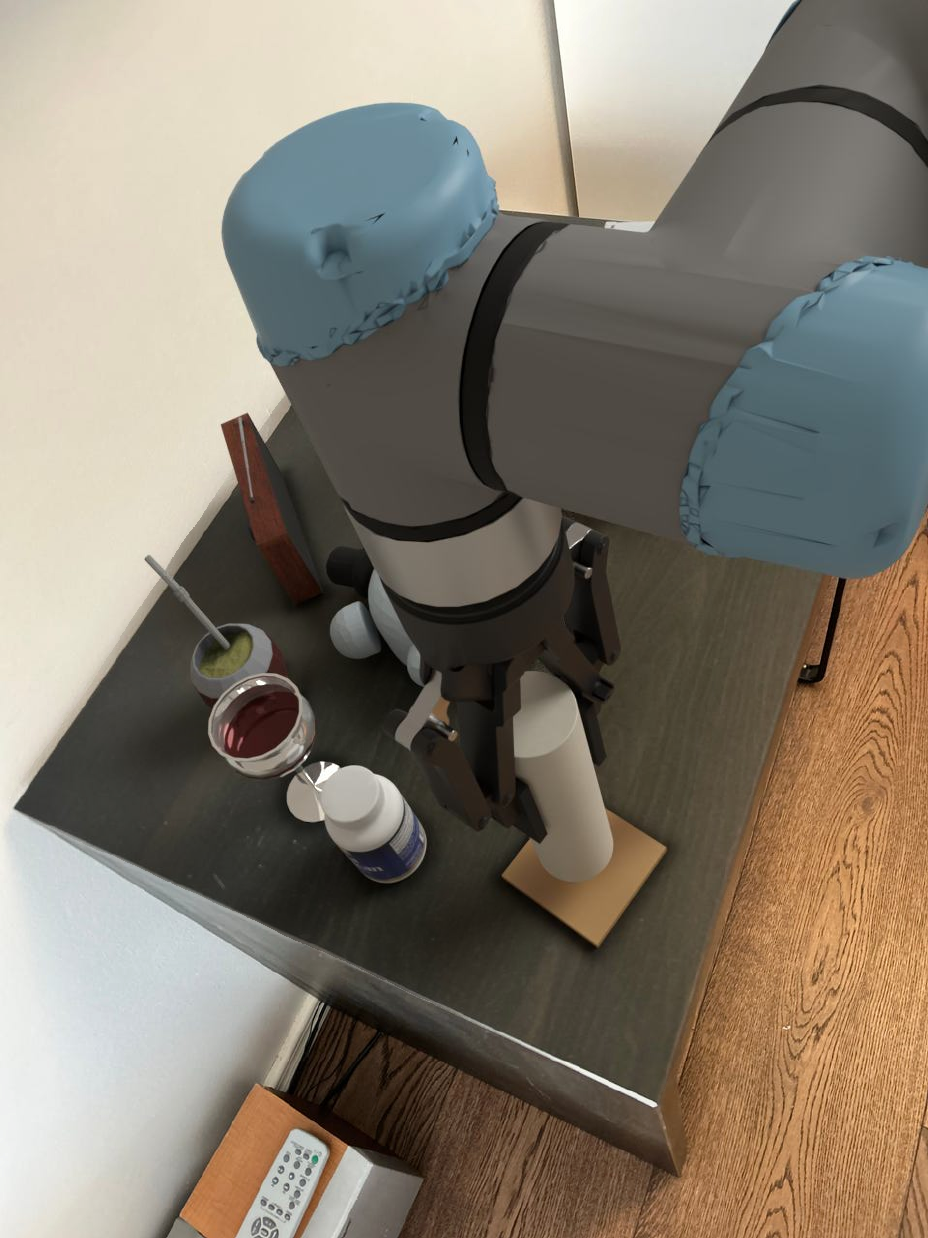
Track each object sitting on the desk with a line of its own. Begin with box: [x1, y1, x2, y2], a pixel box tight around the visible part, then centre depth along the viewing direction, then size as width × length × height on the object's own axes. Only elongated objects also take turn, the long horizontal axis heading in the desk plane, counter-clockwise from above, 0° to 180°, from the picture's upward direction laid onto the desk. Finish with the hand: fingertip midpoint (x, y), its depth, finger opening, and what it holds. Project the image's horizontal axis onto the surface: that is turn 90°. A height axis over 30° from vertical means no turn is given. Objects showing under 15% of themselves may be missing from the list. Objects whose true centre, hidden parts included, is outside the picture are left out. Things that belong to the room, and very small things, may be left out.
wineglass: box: [207, 673, 342, 823], centre depth 69 cm, size 7×7×12 cm
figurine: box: [325, 545, 425, 688], centre depth 78 cm, size 17×8×20 cm
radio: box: [220, 412, 324, 606], centre depth 83 cm, size 19×3×15 cm, turn 20°
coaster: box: [501, 807, 668, 948], centre depth 66 cm, size 8×8×1 cm
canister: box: [513, 670, 613, 882], centre depth 56 cm, size 5×5×18 cm
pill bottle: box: [320, 764, 427, 884], centre depth 66 cm, size 5×5×10 cm
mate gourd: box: [143, 554, 289, 710], centre depth 74 cm, size 8×8×15 cm
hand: (555, 787), depth 56 cm, fingers closed on canister, 5 cm apart
